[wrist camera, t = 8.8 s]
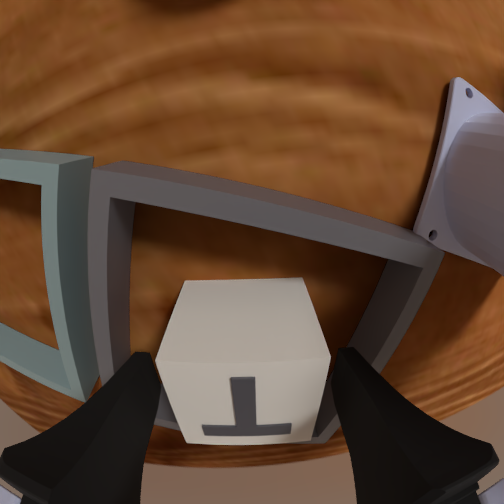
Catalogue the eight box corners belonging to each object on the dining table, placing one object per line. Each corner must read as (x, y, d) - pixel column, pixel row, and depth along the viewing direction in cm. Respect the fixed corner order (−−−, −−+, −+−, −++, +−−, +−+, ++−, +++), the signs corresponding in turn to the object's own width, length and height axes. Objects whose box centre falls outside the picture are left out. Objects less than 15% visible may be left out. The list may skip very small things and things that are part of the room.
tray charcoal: (414, 231, 11) (445, 253, 9) (318, 412, 16) (325, 443, 14) (122, 160, 10) (91, 168, 8) (120, 380, 14) (108, 410, 12)
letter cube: (302, 276, 12) (331, 359, 7) (295, 360, 14) (310, 442, 9) (185, 279, 12) (154, 362, 7) (199, 362, 14) (186, 444, 9)
